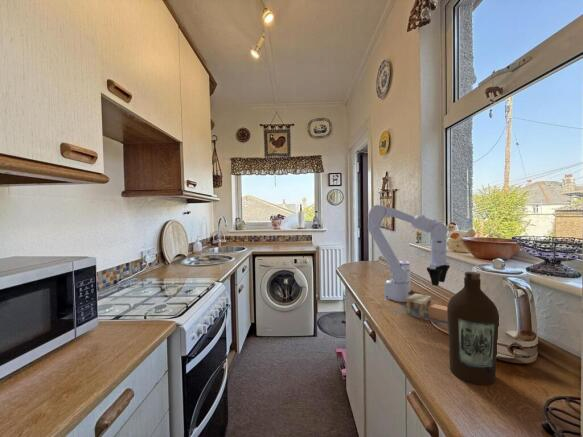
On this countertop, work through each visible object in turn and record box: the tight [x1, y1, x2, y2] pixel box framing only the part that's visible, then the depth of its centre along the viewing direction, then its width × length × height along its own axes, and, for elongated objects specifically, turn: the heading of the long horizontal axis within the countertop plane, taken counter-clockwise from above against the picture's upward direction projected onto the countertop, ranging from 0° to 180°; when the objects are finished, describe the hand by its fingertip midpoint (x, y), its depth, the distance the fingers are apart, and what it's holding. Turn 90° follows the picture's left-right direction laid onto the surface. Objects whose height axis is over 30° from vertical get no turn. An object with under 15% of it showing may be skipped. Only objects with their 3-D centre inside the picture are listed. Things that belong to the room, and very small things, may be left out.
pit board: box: [393, 304, 448, 326], centre depth 103 cm, size 21×10×1 cm, turn 44°
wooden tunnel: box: [405, 292, 432, 319], centre depth 105 cm, size 6×8×6 cm
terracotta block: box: [428, 303, 448, 322], centre depth 98 cm, size 11×4×4 cm, turn 44°
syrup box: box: [399, 260, 412, 293], centre depth 138 cm, size 6×6×14 cm
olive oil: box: [446, 271, 500, 386], centre depth 67 cm, size 11×11×25 cm
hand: (438, 283), depth 115 cm, fingers open, 7 cm apart
